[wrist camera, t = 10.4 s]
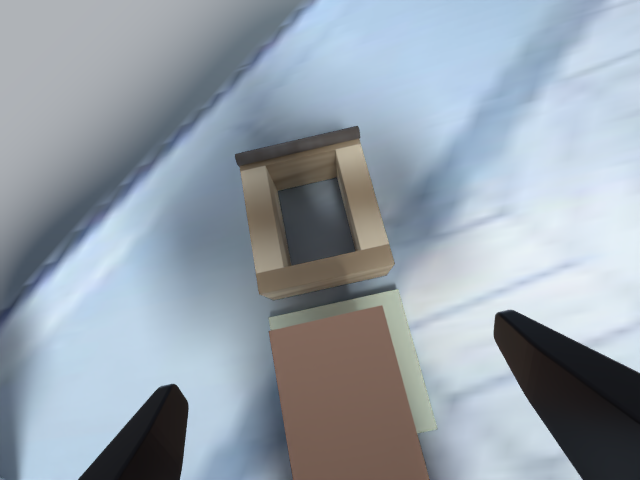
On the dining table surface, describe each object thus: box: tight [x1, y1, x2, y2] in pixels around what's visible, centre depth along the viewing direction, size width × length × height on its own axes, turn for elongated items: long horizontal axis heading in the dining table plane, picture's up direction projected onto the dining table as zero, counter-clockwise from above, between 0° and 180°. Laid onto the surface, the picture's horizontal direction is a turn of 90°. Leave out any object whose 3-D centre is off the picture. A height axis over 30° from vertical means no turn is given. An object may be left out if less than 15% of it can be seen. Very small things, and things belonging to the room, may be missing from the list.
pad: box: [269, 289, 437, 434], centre depth 18 cm, size 8×8×1 cm
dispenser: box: [235, 126, 395, 300], centre depth 19 cm, size 8×7×4 cm
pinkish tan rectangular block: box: [269, 305, 430, 480], centre depth 13 cm, size 5×3×11 cm, turn 12°
